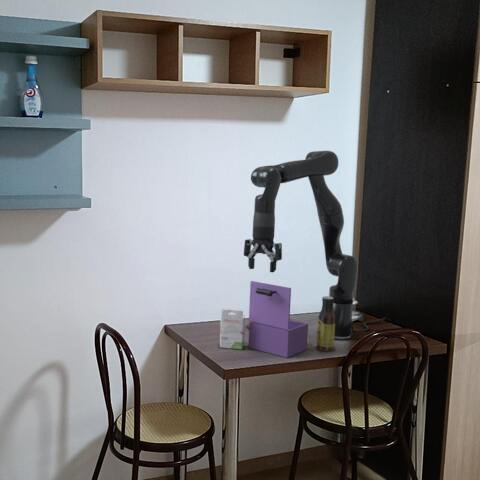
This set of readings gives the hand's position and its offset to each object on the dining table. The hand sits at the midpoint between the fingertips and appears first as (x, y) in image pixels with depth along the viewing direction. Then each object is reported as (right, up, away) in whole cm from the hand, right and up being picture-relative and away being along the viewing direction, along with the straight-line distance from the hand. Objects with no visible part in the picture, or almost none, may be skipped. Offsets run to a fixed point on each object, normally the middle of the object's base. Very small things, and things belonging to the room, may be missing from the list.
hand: (261, 270), depth 227 cm
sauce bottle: (+26, -30, +13) cm, 42 cm away
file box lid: (+4, -13, +5) cm, 14 cm away
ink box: (-9, -29, +13) cm, 33 cm away
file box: (+8, -30, +13) cm, 33 cm away
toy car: (+45, -25, +55) cm, 75 cm away
